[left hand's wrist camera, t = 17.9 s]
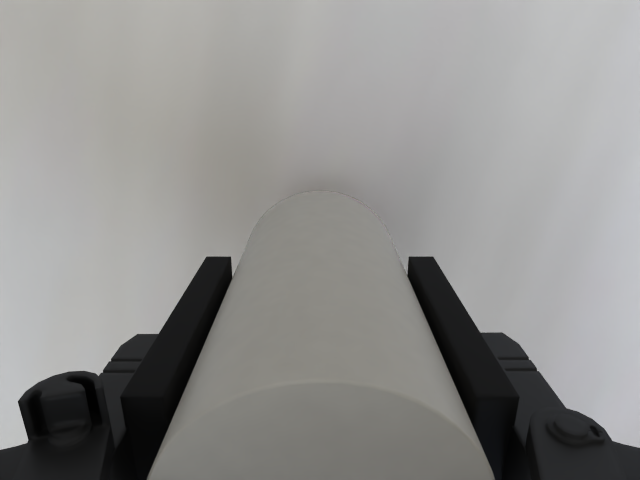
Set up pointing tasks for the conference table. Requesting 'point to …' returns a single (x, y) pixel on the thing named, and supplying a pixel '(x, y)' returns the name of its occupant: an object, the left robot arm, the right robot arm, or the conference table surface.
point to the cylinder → (320, 364)
